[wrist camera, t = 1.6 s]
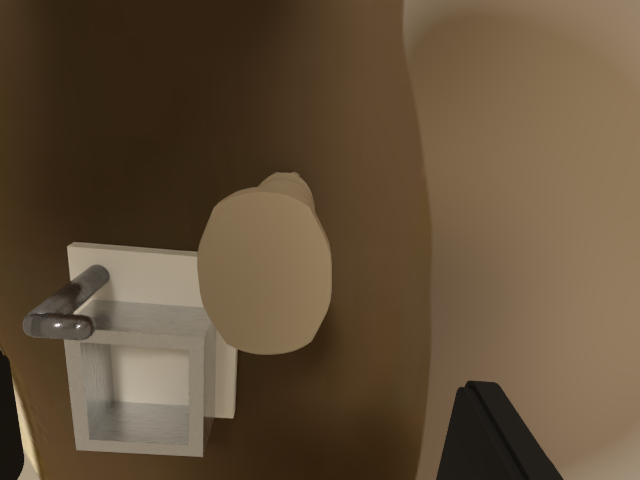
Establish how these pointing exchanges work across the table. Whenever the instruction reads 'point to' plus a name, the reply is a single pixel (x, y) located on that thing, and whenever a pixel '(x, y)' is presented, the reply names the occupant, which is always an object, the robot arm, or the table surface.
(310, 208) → the handle
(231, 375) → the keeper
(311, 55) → the table surface
